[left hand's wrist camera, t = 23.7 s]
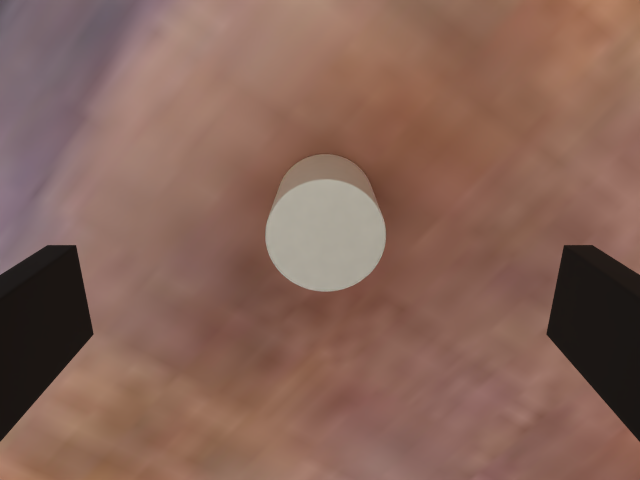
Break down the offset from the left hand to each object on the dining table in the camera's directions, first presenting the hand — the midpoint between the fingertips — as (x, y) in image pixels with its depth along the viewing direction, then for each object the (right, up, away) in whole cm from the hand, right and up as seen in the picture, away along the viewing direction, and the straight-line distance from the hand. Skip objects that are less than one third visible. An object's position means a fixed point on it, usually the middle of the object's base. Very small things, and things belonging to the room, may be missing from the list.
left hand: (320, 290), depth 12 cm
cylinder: (0, +3, +6) cm, 7 cm away
